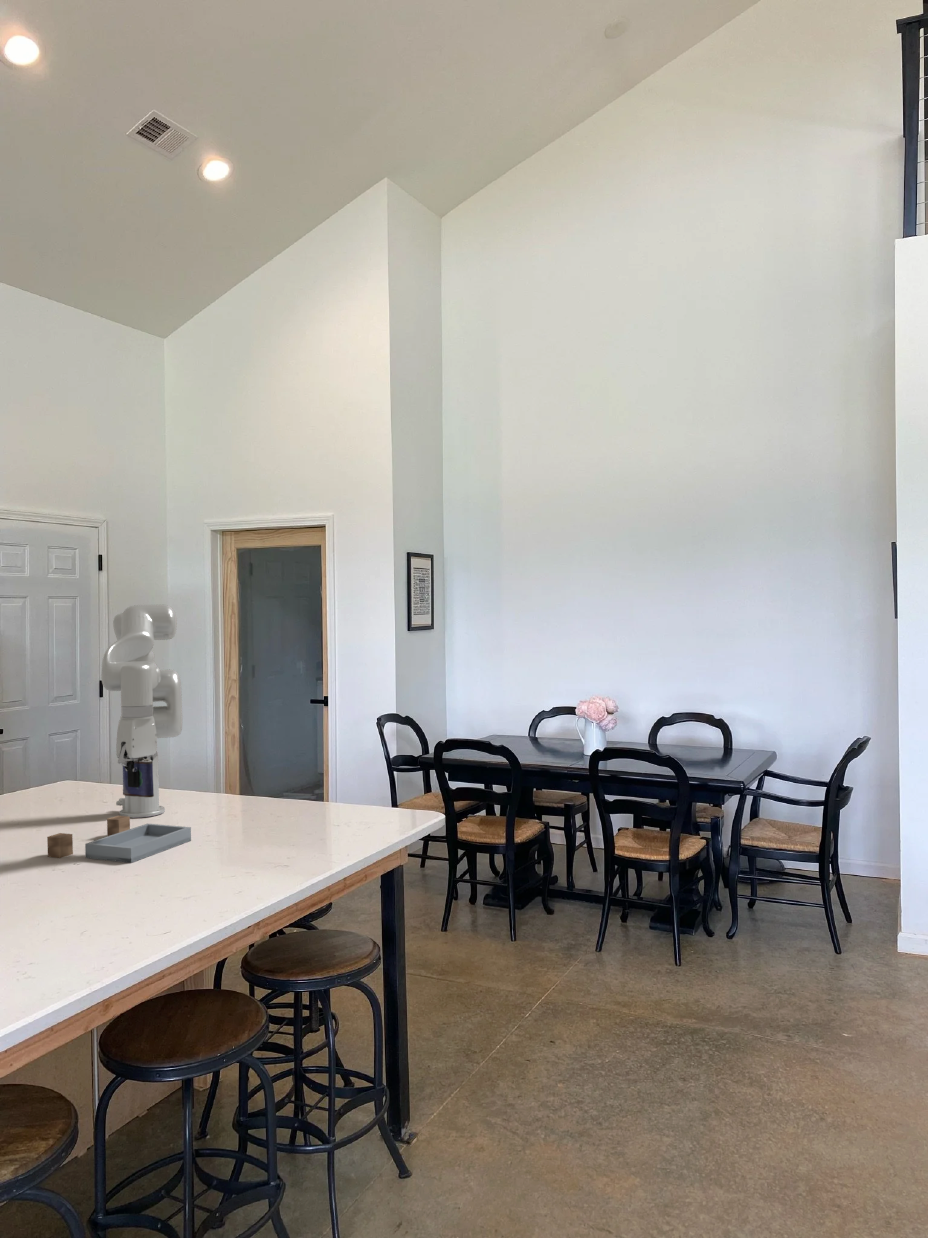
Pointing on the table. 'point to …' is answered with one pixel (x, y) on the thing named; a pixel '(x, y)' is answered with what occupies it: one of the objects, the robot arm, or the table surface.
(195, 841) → the table surface
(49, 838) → the walnut block near
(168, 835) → the tray
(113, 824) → the walnut block far
